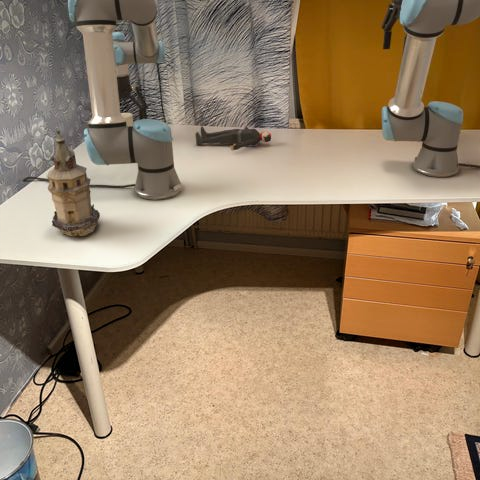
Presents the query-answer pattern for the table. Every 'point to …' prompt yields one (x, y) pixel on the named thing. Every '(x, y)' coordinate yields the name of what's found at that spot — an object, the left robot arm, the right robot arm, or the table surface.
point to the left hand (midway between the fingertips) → (125, 128)
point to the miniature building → (70, 193)
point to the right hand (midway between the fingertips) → (395, 52)
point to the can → (128, 118)
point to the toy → (233, 137)
